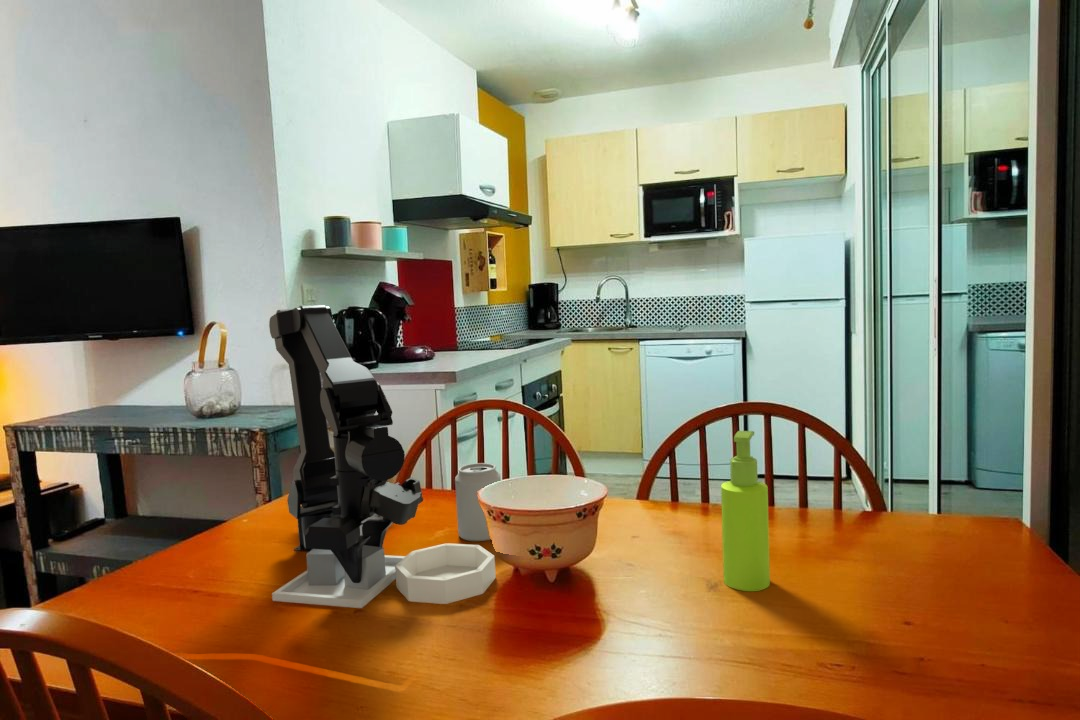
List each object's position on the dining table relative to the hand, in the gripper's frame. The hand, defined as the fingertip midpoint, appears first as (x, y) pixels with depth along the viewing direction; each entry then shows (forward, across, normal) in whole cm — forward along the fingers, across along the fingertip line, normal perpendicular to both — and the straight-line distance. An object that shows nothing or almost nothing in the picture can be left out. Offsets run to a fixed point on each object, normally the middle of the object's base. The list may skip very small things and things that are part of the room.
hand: (365, 575), depth 95 cm
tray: (+1, 0, +3) cm, 3 cm away
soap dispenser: (+2, +10, -52) cm, 52 cm away
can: (+2, +21, -10) cm, 23 cm away
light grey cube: (+1, 0, 0) cm, 1 cm away
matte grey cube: (+1, 0, +6) cm, 6 cm away
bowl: (+1, +2, -12) cm, 12 cm away
